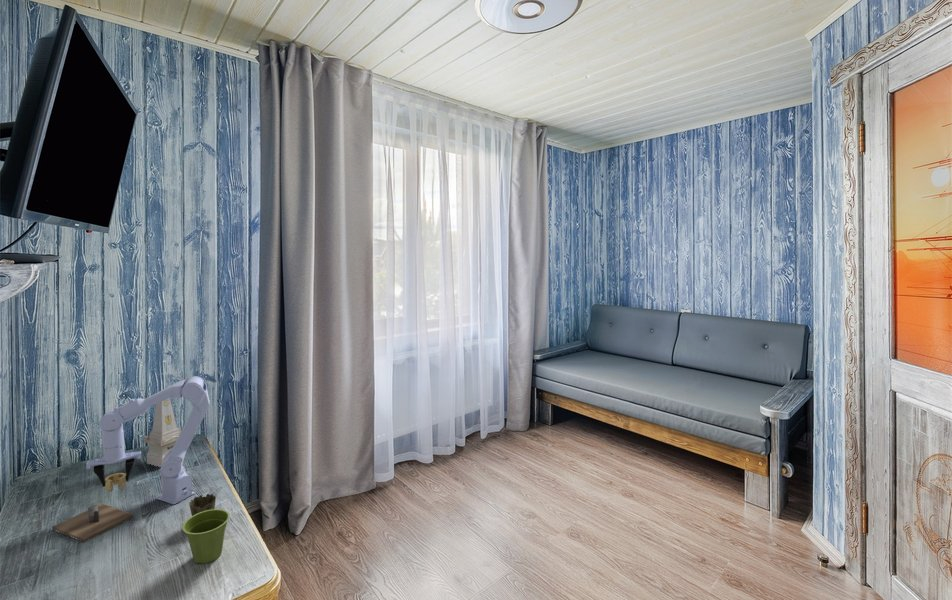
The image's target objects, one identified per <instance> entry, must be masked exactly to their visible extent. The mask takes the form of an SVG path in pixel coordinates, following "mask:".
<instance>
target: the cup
mask: <svg viewBox="0 0 952 600" xmlns="http://www.w3.org/2000/svg"><path fill="white" fill-rule="evenodd" d="M216 500H217V497H216V495H214V494H213V493H212V494H209V493H207V494H206V495H205V496H203V495H202V494H200V495H199V496H195V497H194V498H193V499H191V500H190V501H189V509H190V510H189V511H190V513H191V517H192V516H193V515H195V514H197V513H200V512H203V511H206V510H212V509H216Z"/></svg>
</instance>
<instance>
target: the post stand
mask: <svg viewBox="0 0 952 600" xmlns="http://www.w3.org/2000/svg"><path fill="white" fill-rule="evenodd" d="M132 518H134V514H133V513H131V512H128V511H125V510H121V509H119V508H116V507H113V506H110V505H108V504H105V503H101V504H99V505H92V506H91V505H90V506H88V507H87V510H86V511H84V512H82V513H79V514H77V515H75V516H73V517H70V518H68V519H66V520H64V521H62V522H59V523H57V524H55V525H53V526H51V528H52V529H51V530H53V529H54V530H53V531H55V530H57V531H59V532H58V533H60V532H62V533H64V534H63V535H65V534H67V535H69V536H68V537H70V536H72V537H74V538H77V539H79V540H81V541H80V542H82V541H85V542H87V541H89V540H91V539H93V538H95V537H97V536H99V535H101V534H103V533H105V532H107V531H109V530H111V529H112V528H114V527H116V526H118V525H120V524H123V523H124V522H126V521H128V520H131V519H132ZM57 531H56V532H57ZM62 533H61V534H62ZM67 535H66V536H67ZM72 537H71V538H72ZM74 538H73V539H74ZM77 539H76V540H77ZM88 539H89V540H88ZM79 540H78V541H79ZM86 540H87V541H86Z"/></svg>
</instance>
